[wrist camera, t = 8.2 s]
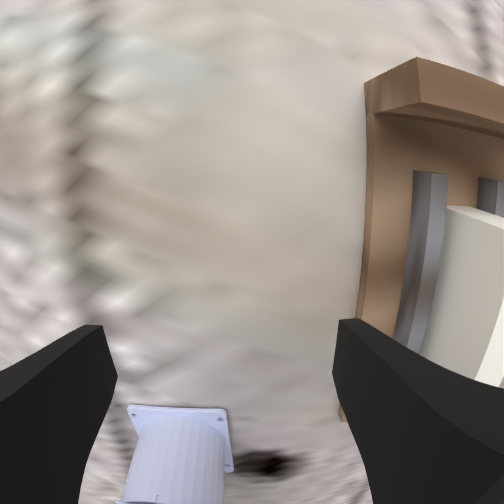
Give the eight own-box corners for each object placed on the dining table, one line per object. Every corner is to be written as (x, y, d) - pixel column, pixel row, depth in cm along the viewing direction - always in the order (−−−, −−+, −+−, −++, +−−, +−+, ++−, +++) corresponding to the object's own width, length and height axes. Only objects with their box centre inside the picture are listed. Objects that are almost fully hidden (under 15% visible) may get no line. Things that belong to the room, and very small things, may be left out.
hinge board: (453, 386, 22) (483, 427, 17) (338, 413, 22) (357, 469, 16) (501, 115, 15) (559, 115, 9) (364, 83, 15) (416, 57, 9)
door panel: (453, 337, 19) (503, 390, 13) (412, 345, 19) (460, 409, 12) (479, 206, 16) (554, 234, 10) (436, 204, 16) (516, 234, 9)
